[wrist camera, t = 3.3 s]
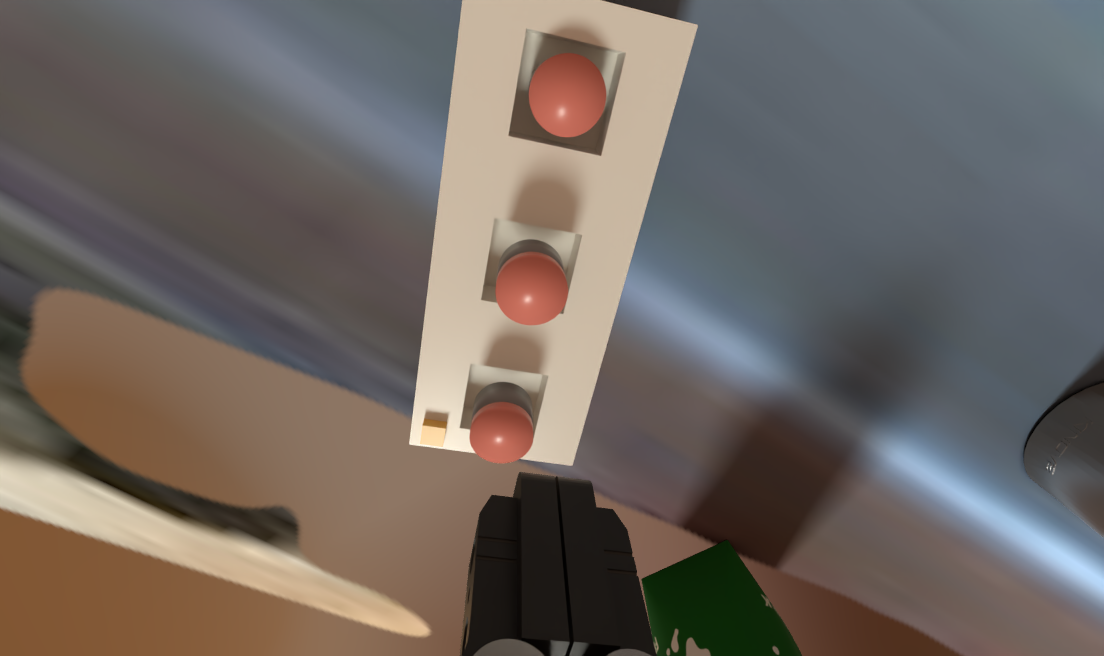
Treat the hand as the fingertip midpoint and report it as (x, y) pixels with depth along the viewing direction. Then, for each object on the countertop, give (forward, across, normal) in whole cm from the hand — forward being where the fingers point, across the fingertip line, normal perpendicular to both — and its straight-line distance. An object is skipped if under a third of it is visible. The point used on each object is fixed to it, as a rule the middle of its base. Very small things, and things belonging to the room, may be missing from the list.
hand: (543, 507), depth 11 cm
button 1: (+17, 0, -8) cm, 18 cm away
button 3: (+15, 0, +8) cm, 16 cm away
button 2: (+15, 0, 0) cm, 15 cm away
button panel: (+19, 0, -2) cm, 19 cm away
